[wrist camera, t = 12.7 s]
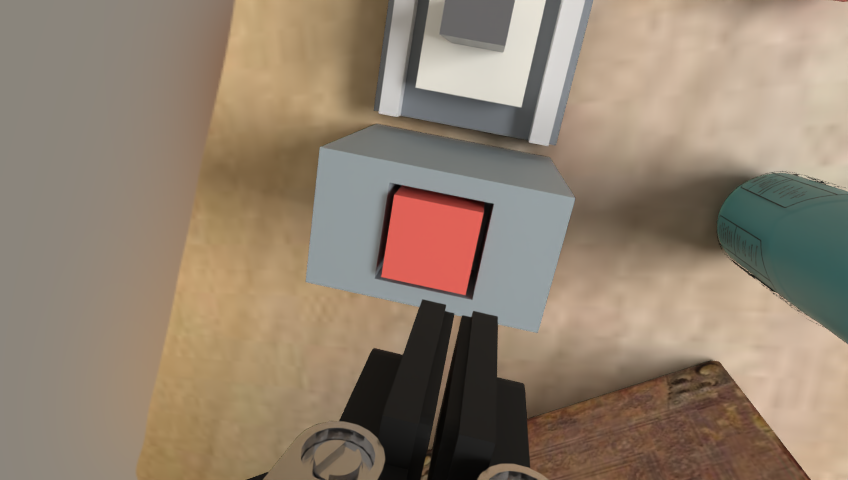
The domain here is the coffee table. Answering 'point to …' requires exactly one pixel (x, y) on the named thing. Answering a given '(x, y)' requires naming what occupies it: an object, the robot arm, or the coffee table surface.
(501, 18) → the carriage
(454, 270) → the button
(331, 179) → the button cabinet
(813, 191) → the beverage bottle
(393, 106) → the rail bed
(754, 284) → the coffee table surface
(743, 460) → the book
